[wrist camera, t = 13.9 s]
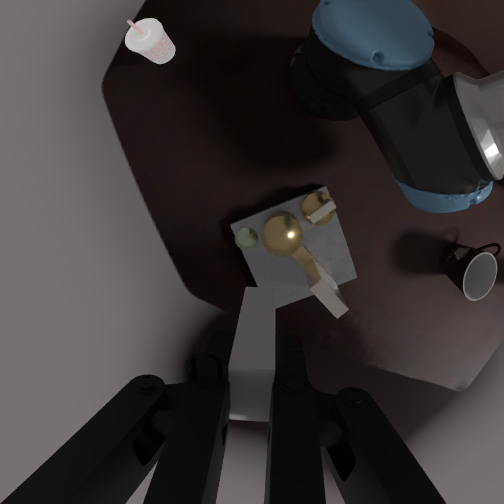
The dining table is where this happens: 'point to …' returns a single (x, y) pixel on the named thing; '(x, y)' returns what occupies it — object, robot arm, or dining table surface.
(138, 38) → the beverage cup
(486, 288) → the coffee mug
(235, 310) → the dining table surface
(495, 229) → the dining table surface
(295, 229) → the knob
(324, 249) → the base
